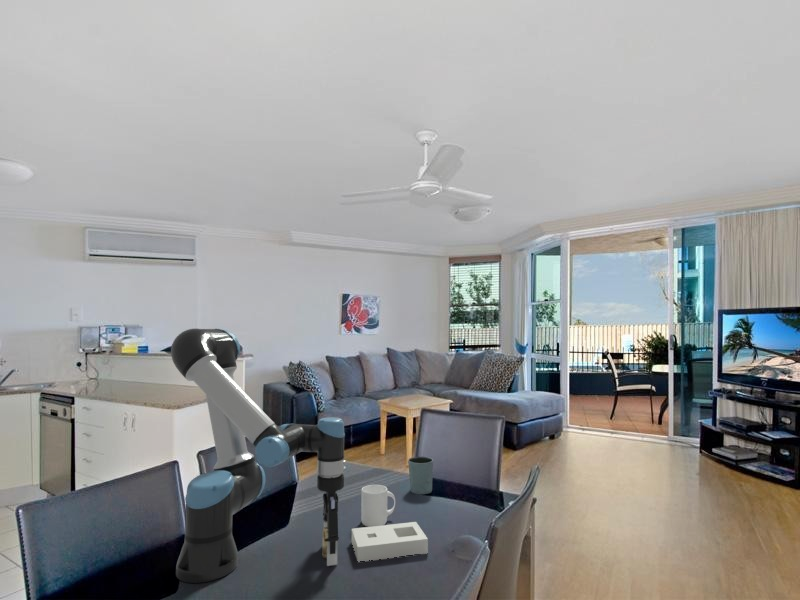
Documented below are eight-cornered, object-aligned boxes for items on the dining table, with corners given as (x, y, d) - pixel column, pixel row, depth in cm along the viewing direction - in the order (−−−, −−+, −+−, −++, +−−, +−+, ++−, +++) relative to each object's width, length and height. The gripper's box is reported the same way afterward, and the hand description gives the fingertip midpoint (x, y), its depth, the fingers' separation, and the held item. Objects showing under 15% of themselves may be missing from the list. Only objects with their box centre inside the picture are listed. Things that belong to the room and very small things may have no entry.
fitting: (322, 559, 122) (323, 533, 123) (321, 552, 126) (321, 527, 127) (338, 557, 123) (338, 531, 124) (336, 550, 127) (336, 525, 128)
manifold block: (357, 562, 121) (357, 547, 121) (351, 542, 132) (351, 528, 132) (428, 553, 125) (427, 538, 126) (416, 535, 137) (416, 521, 137)
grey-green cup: (434, 495, 172) (434, 463, 173) (408, 494, 172) (407, 463, 173) (432, 486, 182) (432, 456, 183) (407, 486, 182) (407, 456, 183)
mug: (400, 523, 146) (400, 489, 147) (366, 529, 141) (366, 494, 142) (390, 513, 154) (390, 481, 155) (357, 519, 149) (357, 486, 150)
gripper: (349, 486, 116) (348, 574, 114) (339, 461, 139) (338, 534, 137) (320, 488, 114) (319, 578, 112) (314, 463, 137) (313, 537, 135)
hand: (329, 554), depth 125 cm, fingers open, 11 cm apart
